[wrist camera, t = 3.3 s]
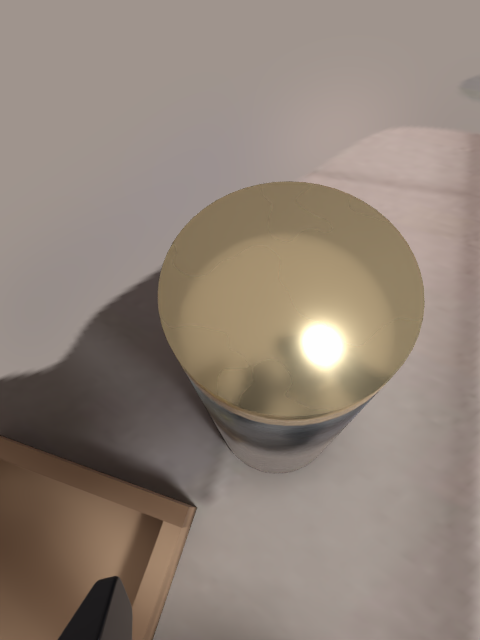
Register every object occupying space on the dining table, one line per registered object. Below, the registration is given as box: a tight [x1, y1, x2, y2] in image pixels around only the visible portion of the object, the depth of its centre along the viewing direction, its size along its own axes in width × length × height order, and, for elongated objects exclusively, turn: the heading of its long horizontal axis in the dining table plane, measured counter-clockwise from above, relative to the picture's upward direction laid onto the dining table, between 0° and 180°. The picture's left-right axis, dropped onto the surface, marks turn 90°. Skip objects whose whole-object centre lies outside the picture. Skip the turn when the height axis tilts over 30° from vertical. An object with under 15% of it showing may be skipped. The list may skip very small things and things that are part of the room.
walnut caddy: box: [0, 435, 197, 640], centre depth 17 cm, size 11×11×2 cm
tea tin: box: [158, 181, 424, 473], centre depth 15 cm, size 6×6×13 cm
